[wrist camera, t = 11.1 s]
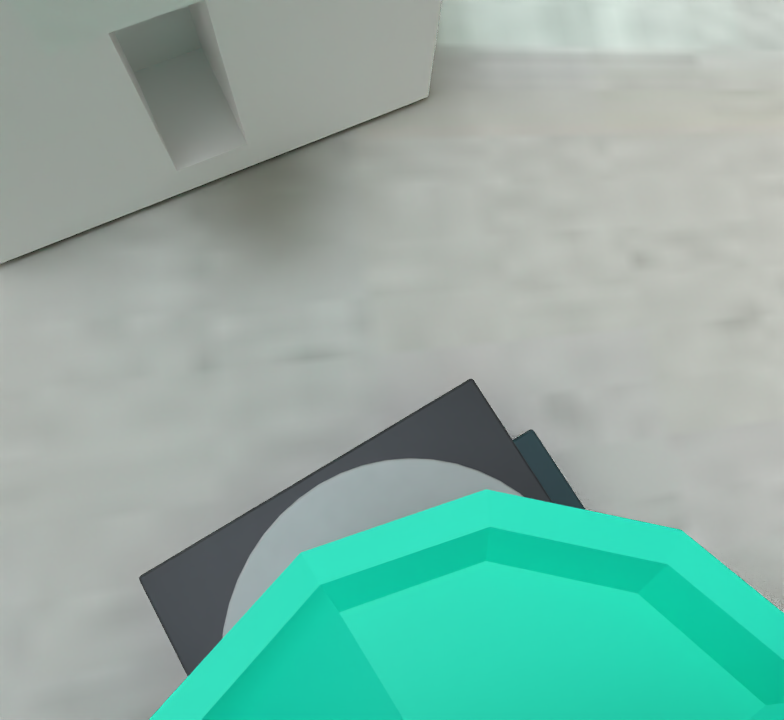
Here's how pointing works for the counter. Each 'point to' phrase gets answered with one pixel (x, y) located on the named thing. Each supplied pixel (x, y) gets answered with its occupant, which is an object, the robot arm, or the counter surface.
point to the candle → (498, 626)
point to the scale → (347, 511)
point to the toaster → (183, 96)
